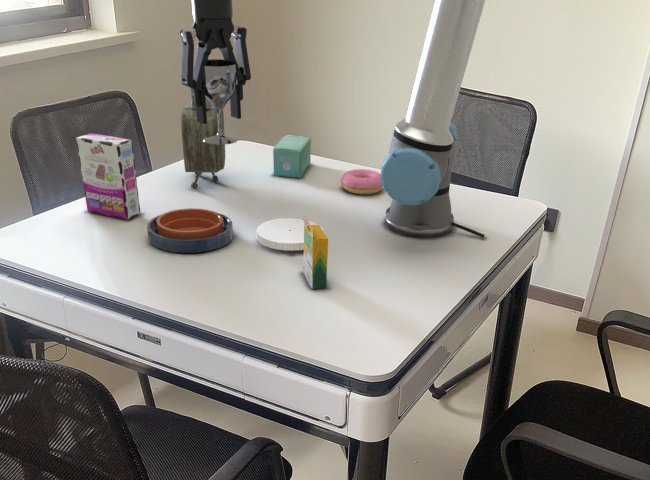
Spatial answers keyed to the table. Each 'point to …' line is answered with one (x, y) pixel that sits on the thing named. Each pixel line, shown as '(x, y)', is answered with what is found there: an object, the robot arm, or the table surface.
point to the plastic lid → (282, 234)
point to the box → (291, 156)
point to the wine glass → (219, 94)
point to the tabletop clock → (201, 143)
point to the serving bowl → (190, 244)
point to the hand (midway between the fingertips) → (219, 119)
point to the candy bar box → (109, 175)
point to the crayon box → (315, 255)
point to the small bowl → (189, 224)
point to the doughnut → (362, 181)
